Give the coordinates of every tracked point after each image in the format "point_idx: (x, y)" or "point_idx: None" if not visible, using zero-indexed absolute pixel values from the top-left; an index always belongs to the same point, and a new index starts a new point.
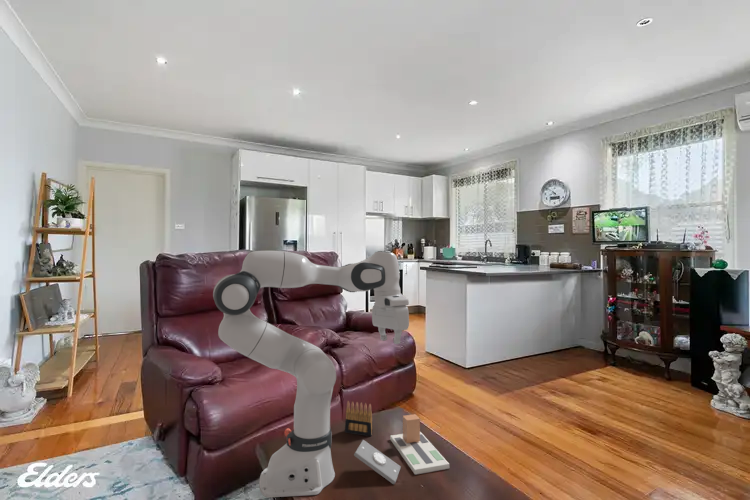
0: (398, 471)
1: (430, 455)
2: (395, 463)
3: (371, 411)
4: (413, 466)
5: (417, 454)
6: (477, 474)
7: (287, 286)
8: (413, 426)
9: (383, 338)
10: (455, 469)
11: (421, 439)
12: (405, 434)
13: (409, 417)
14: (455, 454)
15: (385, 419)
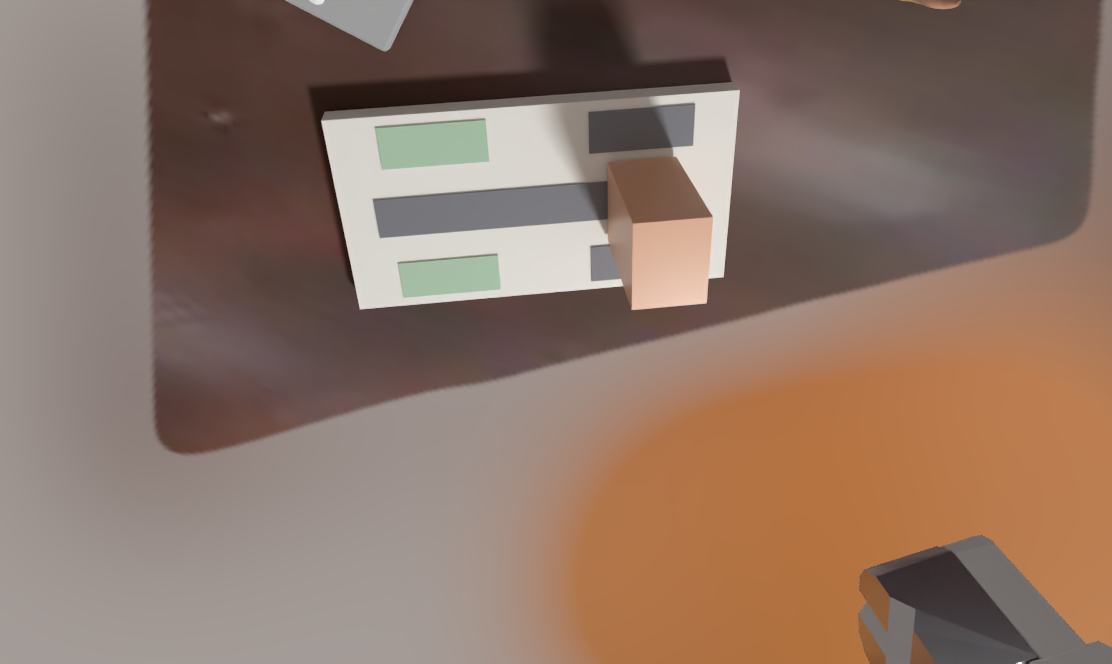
0: (329, 21)
1: (454, 247)
2: (389, 23)
3: (915, 2)
4: (356, 123)
5: (477, 184)
6: (300, 390)
7: None
8: (623, 246)
9: (896, 625)
10: (351, 319)
11: None
12: (638, 177)
13: (671, 252)
14: (482, 363)
15: (992, 123)
